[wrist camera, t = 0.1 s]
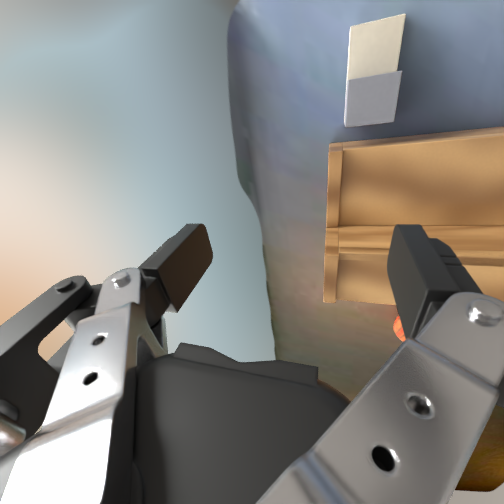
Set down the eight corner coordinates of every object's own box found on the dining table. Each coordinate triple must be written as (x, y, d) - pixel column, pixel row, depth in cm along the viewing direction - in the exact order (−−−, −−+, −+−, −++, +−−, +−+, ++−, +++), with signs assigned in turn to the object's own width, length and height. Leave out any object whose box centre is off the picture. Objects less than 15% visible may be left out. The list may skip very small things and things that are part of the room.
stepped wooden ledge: (329, 143, 28) (327, 168, 20) (602, 116, 21) (775, 138, 13) (325, 253, 37) (323, 302, 29) (518, 260, 30) (589, 328, 22)
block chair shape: (349, 28, 22) (352, 21, 20) (402, 16, 21) (413, 6, 18) (343, 123, 27) (345, 127, 24) (387, 117, 25) (394, 122, 23)
